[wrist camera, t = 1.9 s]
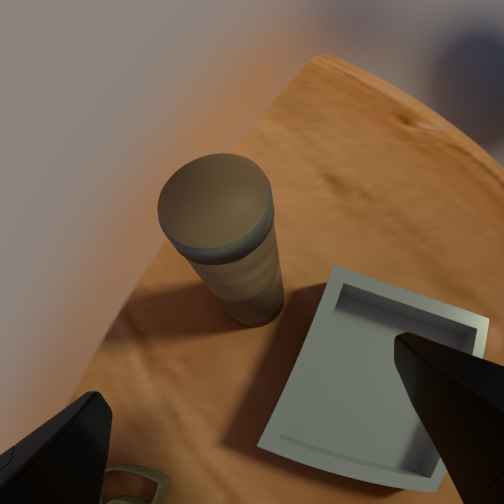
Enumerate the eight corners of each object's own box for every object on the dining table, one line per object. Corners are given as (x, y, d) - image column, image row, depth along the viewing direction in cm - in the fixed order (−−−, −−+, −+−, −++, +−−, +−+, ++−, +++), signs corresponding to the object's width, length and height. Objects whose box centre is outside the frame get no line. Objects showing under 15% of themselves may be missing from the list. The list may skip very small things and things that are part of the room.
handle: (270, 338, 21) (238, 264, 10) (214, 314, 22) (134, 226, 11) (294, 282, 22) (288, 164, 11) (240, 262, 24) (192, 144, 13)
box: (419, 483, 14) (435, 492, 11) (262, 438, 17) (256, 445, 15) (469, 329, 18) (489, 318, 16) (329, 281, 22) (333, 264, 19)
